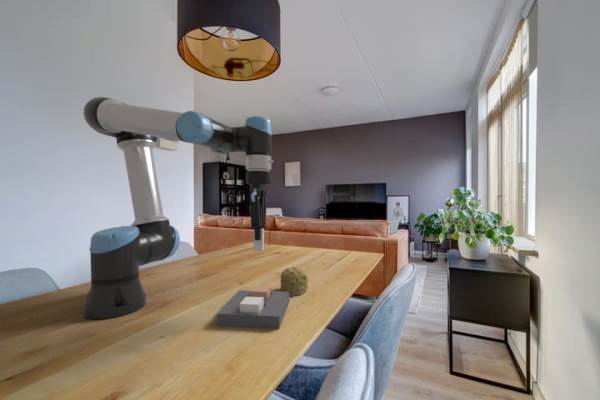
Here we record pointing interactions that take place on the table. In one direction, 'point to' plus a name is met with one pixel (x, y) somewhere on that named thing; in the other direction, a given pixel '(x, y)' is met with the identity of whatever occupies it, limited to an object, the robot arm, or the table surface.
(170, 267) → the table surface
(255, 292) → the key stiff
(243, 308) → the key soft
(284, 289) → the rock
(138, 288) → the robot arm
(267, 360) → the table surface
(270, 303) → the key panel
